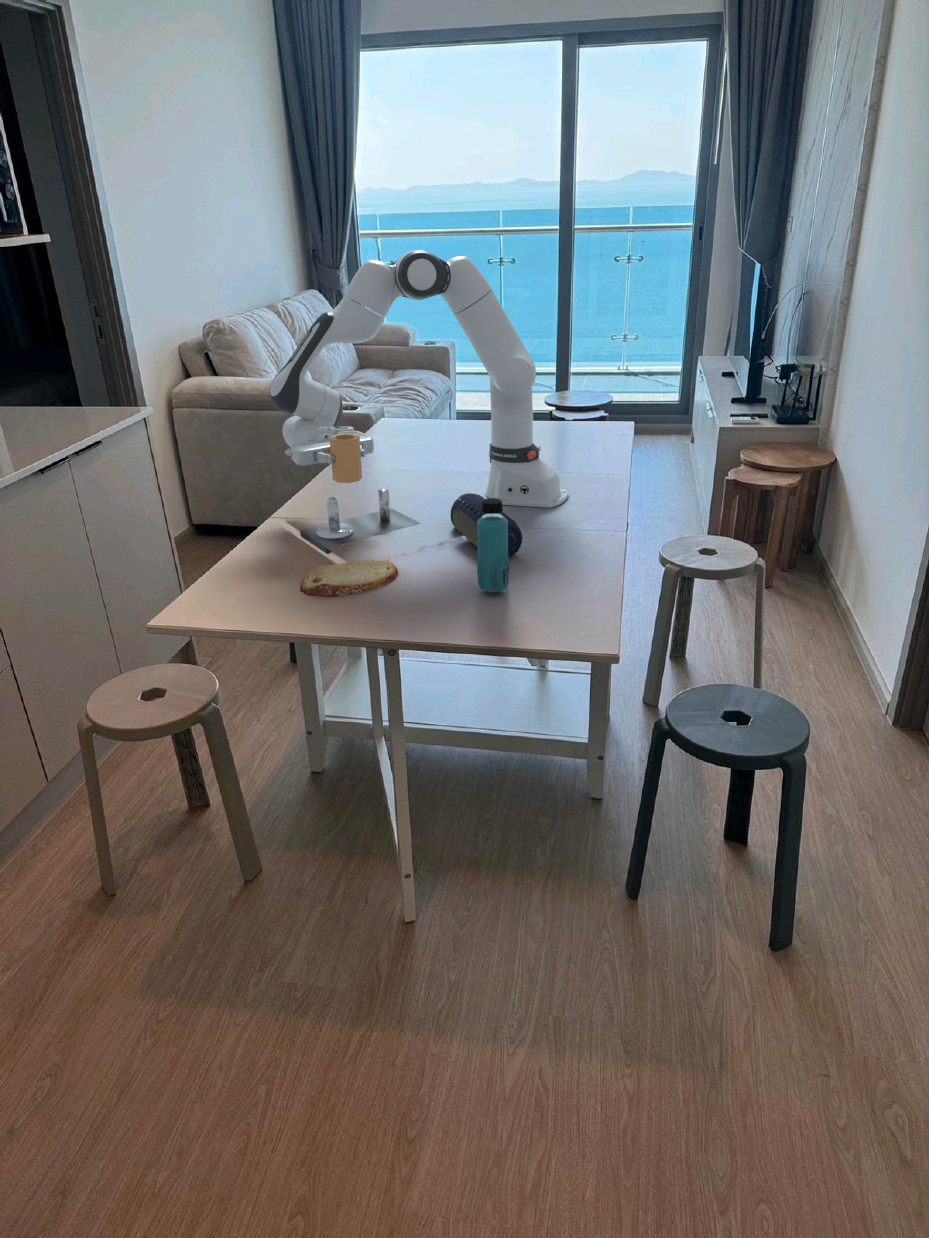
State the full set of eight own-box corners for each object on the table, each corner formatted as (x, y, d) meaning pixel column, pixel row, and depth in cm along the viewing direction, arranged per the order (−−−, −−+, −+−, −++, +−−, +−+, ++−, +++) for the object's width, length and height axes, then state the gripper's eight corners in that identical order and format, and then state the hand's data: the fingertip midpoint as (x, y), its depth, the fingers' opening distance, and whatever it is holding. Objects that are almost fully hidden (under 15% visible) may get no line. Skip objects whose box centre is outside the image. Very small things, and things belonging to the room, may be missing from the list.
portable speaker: (445, 530, 205) (444, 492, 200) (482, 524, 208) (482, 486, 203) (486, 567, 184) (485, 525, 179) (526, 560, 187) (527, 518, 183)
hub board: (392, 513, 216) (389, 474, 211) (420, 529, 206) (419, 487, 201) (300, 536, 203) (295, 494, 198) (326, 553, 192) (322, 510, 188)
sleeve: (353, 473, 201) (350, 432, 196) (366, 479, 196) (363, 438, 192) (329, 477, 198) (325, 436, 193) (341, 484, 193) (338, 442, 188)
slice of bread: (404, 571, 184) (403, 555, 182) (371, 605, 169) (370, 588, 167) (331, 562, 189) (329, 547, 187) (293, 595, 174) (291, 578, 172)
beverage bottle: (506, 600, 169) (506, 506, 160) (474, 597, 170) (472, 504, 161) (511, 586, 174) (511, 495, 165) (480, 584, 176) (479, 494, 166)
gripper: (280, 438, 197) (305, 450, 187) (356, 425, 208) (384, 437, 197) (283, 463, 200) (308, 478, 190) (358, 450, 210) (385, 462, 200)
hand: (347, 457), depth 194 cm, fingers closed on sleeve, 6 cm apart
